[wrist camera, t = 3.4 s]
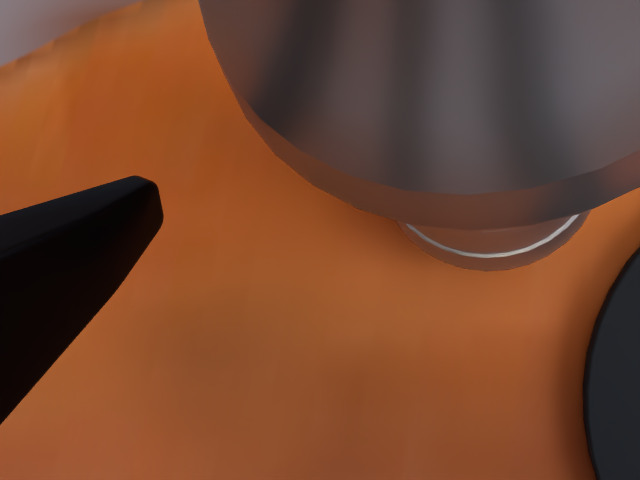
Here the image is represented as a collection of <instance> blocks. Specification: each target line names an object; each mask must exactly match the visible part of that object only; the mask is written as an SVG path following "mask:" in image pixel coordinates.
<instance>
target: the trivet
mask: <svg viewBox="0 0 640 480" xmlns="http://www.w3.org/2000/svg"><path fill="white" fill-rule="evenodd" d="M583 413H584V424H585V431H586V437H587V443H588V450H589V454H590V458H591V461H592V465H593V468H594V471H595V475H596V478H597V480H640V247H639V248H638V249H637V251H636V252H635V253H634V254H633V255H632V257H631V258H630V259H629V260H628V261H627V263H626V264H625V266H624V267H623V269H622V271H621V272H620V274H619V275H618V277H617V279H616V280H615V282H614V283H613V285H612V287H611V288H610V290H609V292H608V294H607V296H606V299H605V301H604V303H603V305H602V308H601V310H600V312H599V314H598V317H597V319H596V322H595V325H594V329H593V333H592V336H591V340H590V343H589V347H588V351H587V357H586V365H585V373H584V381H583Z"/></svg>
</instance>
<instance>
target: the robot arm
mask: <svg viewBox="0 0 640 480" xmlns="http://www.w3.org/2000/svg"><path fill="white" fill-rule="evenodd" d="M163 217H164V216H163V210H162V205H161V200H160V195H159V190H158V187H157V185H156V184H155V183H154V182H153V181H150V180H148V179H145V178H143V177H140V176H130V177H127V178H123V179H120V180H117V181H113V182H110V183H107V184H103V185H100V186H97V187H93V188H90V189H87V190H83V191H80V192H77V193H73V194H70V195H67V196H63V197H60V198H57V199H53V200H50V201H47V202H43V203H40V204H37V205H33V206H30V207H27V208H23V209H20V210H17V211H13V212H10V213H7V214H3V215H0V425H1V424H2V422H3V421H4V420H5V419H6V418H7V417H8V415H9V414H10V413H11V412H12V411H13V410H14V409H15V407H16V406H17V405H18V404H19V403H20V402H21V400H22V399H23V398H24V397H25V396H26V395H27V394H28V392H29V391H30V390H31V389H32V388H33V387H34V385H35V384H36V383H37V382H38V381H39V380H40V379H41V377H42V376H43V375H44V374H45V373H46V372H47V370H48V369H49V368H50V367H51V366H52V365H53V364H54V362H55V361H56V360H57V359H58V358H59V357H60V355H61V354H62V353H63V352H64V351H65V350H66V349H67V347H68V346H69V345H70V344H71V343H72V342H73V340H74V339H75V338H76V337H77V336H78V335H79V334H80V332H81V331H82V330H83V329H84V328H85V327H86V325H87V324H88V323H89V322H90V321H91V320H92V319H93V317H94V316H95V315H96V314H97V313H98V312H99V310H100V309H101V308H102V307H103V306H104V305H105V304H106V302H107V301H108V300H109V299H110V298H111V296H112V295H113V294H114V293H115V292H116V290H117V289H118V288H119V286H120V285H121V284H122V282H123V281H124V280H125V278H126V277H127V275H128V274H129V272H130V271H131V269H132V268H133V267H134V265H135V264H136V262H137V261H138V259H139V258H140V257H141V255H142V254H143V252H144V251H145V249H146V248H147V247H148V245H149V244H150V242H151V241H152V239H153V238H154V237H155V235H156V234H157V232H158V231H159V229H160V228H161V225H162V223H163Z"/></svg>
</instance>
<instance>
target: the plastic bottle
mask: <svg viewBox="0 0 640 480" xmlns="http://www.w3.org/2000/svg"><path fill="white" fill-rule="evenodd" d="M198 1H199V4H200V8H201V12H202V16H203V20H204V23H205V27H206V31H207V35H208V39H209V41H210V44H211V46H212V48H213V50H214V53H215V55H216V57H217V59H218V62H219V64H220V66H221V68H222V71H223V73H224V75H225V77H226V79H227V81H228V83H229V85H230V87H231V89H232V91H233V93H234V95H235V97H236V99H237V101H238V103H239V105H240V107H241V109H242V111H243V113H244V115H245V117H246V119H247V120H248V121H249V123H250V124H251V125H252V126H253V128H254V129H255V130H256V131H257V132H258V134H259V135H260V136H261V137H262V139H263V140H264V141H265V142H266V144H267V145H268V146H269V147H270V149H271V150H272V151H273V152H274V154H275V155H276V156H278V157H279V158H280V159H281V160H283V161H284V162H285V163H286V164H287V165H289V166H290V167H291V168H292V169H294V170H295V171H296V172H297V173H299V174H300V175H301V176H302V177H303V178H305V179H306V180H307V181H308V182H310V183H311V184H312V185H313V186H315V187H317V188H319V189H321V190H323V191H325V192H327V193H329V194H331V195H333V196H334V197H336V198H338V199H340V200H342V201H344V202H346V203H348V204H350V205H352V206H354V207H356V208H358V209H360V210H363V211H367V212H370V213H373V214H376V215H380V216H383V217H386V218H390V219H393V220H396V222H397V224H398V226H399V227H400V228H401V229H402V231H403V232H404V233H405V234H406V235H407V237H408V238H409V239H410V240H411V241H412V242H413V243H415V244H416V245H417V246H418V247H420V248H421V249H422V250H423V251H425V252H426V253H427V254H429V255H431V256H433V257H435V258H437V259H439V260H441V261H443V262H444V263H448V264H451V265H454V266H457V267H461V268H464V269H471V270H479V271H498V270H509V269H513V268H517V267H521V266H525V265H529V264H531V263H533V262H535V261H538V260H540V259H542V258H544V257H546V256H548V255H550V254H551V253H553V252H554V251H555V250H557V249H558V248H560V247H561V246H562V245H564V244H565V243H567V241H568V240H569V239H570V238H571V237H572V236H573V235H574V234H575V233H576V232H577V231H578V230H579V228H580V227H581V226H582V224H583V223H584V221H585V219H586V218H587V216H588V214H589V213H590V211H591V209H593V208H596V207H598V206H600V205H602V204H604V203H606V202H608V201H611V200H613V199H615V198H617V197H619V196H621V195H623V194H625V193H627V192H630V191H632V190H634V189H636V188H638V187H640V0H198Z"/></svg>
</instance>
